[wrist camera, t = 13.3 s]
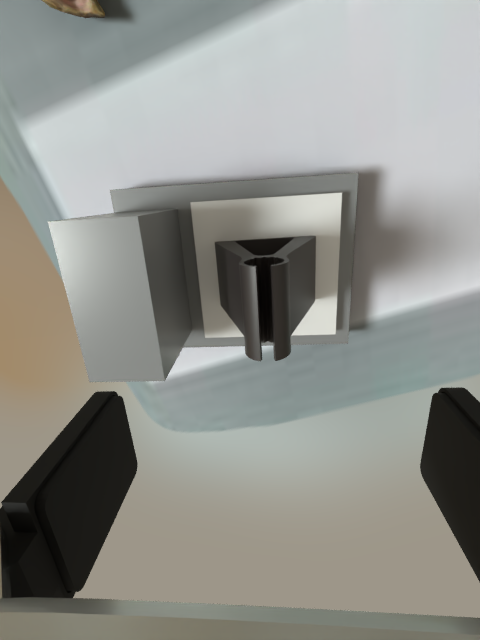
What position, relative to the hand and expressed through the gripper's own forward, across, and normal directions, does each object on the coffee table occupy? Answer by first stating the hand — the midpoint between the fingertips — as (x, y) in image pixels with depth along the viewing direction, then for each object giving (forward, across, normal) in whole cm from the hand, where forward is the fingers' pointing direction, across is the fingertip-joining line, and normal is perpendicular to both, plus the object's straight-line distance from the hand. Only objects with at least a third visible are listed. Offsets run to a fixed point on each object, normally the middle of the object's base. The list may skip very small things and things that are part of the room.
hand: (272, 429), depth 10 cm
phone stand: (+22, 0, 0) cm, 22 cm away
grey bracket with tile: (+26, +3, 0) cm, 26 cm away
